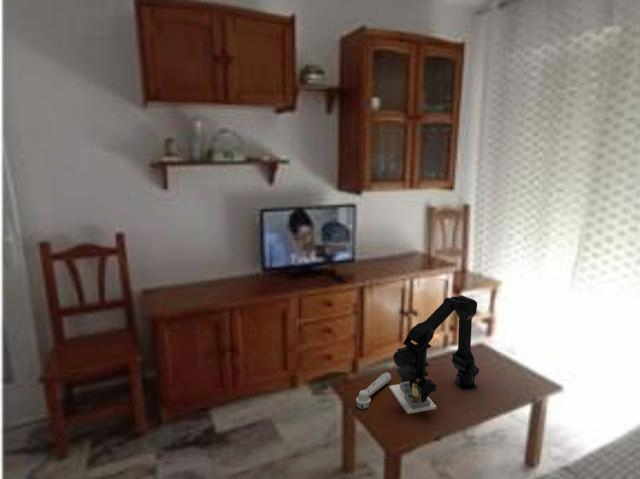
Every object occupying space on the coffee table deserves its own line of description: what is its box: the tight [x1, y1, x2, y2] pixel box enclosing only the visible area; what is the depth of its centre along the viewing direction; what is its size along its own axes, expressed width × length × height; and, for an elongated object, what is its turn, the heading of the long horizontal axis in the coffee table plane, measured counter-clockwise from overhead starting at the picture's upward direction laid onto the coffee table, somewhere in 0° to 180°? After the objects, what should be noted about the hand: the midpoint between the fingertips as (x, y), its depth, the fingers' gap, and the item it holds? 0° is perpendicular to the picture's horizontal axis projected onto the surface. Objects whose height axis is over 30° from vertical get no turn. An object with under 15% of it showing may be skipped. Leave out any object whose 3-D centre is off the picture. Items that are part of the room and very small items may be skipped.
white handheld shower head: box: [355, 371, 392, 410], centre depth 181 cm, size 5×7×25 cm
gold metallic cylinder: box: [412, 380, 421, 403], centre depth 172 cm, size 4×4×8 cm
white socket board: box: [388, 381, 437, 415], centre depth 178 cm, size 12×18×3 cm, turn 14°
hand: (417, 395), depth 173 cm, fingers open, 9 cm apart
